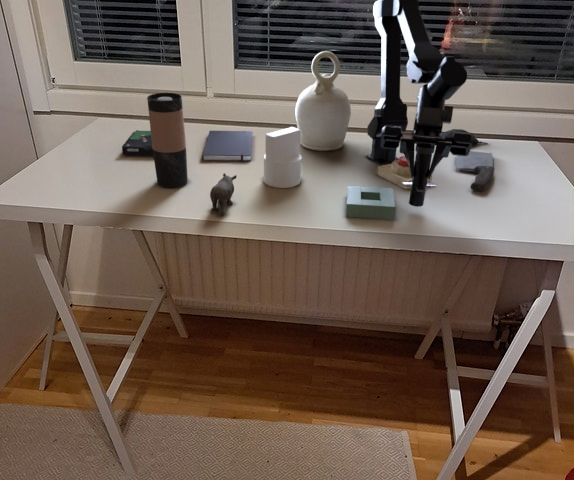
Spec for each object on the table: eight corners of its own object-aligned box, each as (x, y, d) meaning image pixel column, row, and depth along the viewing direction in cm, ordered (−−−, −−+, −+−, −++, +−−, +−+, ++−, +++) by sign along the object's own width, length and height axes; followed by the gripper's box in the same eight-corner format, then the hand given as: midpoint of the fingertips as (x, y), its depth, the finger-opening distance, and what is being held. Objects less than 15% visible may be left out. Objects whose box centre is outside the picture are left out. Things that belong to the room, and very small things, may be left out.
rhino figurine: (241, 192, 128) (240, 167, 125) (226, 216, 117) (225, 190, 114) (224, 190, 129) (223, 165, 126) (207, 215, 118) (206, 188, 114)
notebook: (209, 135, 163) (203, 160, 146) (209, 130, 163) (202, 154, 145) (252, 136, 164) (251, 161, 146) (252, 131, 163) (251, 155, 145)
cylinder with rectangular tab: (282, 171, 140) (283, 123, 134) (308, 181, 135) (310, 132, 129) (256, 179, 135) (255, 131, 128) (281, 190, 130) (282, 140, 123)
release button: (395, 164, 136) (396, 157, 135) (406, 161, 138) (407, 155, 137) (404, 168, 134) (405, 161, 133) (416, 166, 135) (417, 159, 134)
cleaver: (493, 194, 130) (495, 186, 129) (451, 189, 132) (452, 180, 131) (492, 156, 154) (493, 149, 153) (456, 152, 156) (457, 144, 155)
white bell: (313, 132, 168) (317, 44, 155) (357, 143, 161) (366, 51, 147) (283, 145, 158) (285, 51, 144) (329, 157, 150) (336, 59, 137)
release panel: (377, 174, 140) (379, 159, 138) (401, 169, 143) (403, 154, 141) (405, 189, 132) (408, 173, 130) (430, 183, 135) (433, 168, 133)
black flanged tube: (400, 209, 118) (409, 150, 111) (398, 196, 124) (406, 139, 117) (434, 211, 117) (445, 152, 110) (430, 198, 123) (440, 141, 116)
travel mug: (194, 179, 134) (188, 94, 124) (179, 190, 128) (171, 102, 117) (166, 174, 136) (158, 91, 126) (150, 185, 130) (139, 98, 119)
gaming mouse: (490, 147, 160) (493, 134, 158) (439, 145, 160) (441, 132, 158) (484, 140, 165) (487, 127, 163) (435, 139, 166) (437, 125, 163)
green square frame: (345, 216, 118) (347, 203, 117) (346, 197, 127) (347, 185, 125) (393, 219, 118) (395, 207, 116) (391, 200, 126) (392, 188, 125)
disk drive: (161, 157, 147) (171, 139, 159) (160, 147, 146) (170, 129, 158) (122, 157, 147) (135, 138, 159) (121, 146, 145) (133, 129, 158)
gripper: (387, 85, 113) (376, 155, 110) (482, 93, 110) (473, 165, 107) (386, 114, 124) (375, 178, 121) (472, 121, 120) (463, 188, 117)
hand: (420, 177), depth 116 cm, fingers closed on black flanged tube, 3 cm apart
